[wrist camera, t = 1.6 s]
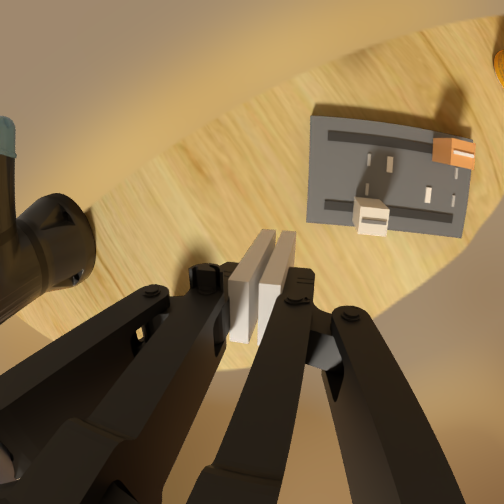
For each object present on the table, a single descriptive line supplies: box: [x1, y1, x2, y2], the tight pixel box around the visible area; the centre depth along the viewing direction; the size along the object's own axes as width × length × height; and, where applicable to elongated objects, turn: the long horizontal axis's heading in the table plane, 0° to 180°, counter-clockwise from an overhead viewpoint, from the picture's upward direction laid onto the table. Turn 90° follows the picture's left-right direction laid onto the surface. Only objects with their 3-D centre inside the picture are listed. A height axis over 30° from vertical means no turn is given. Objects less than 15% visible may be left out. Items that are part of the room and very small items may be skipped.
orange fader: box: [432, 138, 476, 170], centre depth 22 cm, size 3×2×5 cm
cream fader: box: [352, 197, 390, 237], centre depth 26 cm, size 3×2×5 cm
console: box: [306, 116, 473, 238], centre depth 28 cm, size 18×11×2 cm, turn 90°
